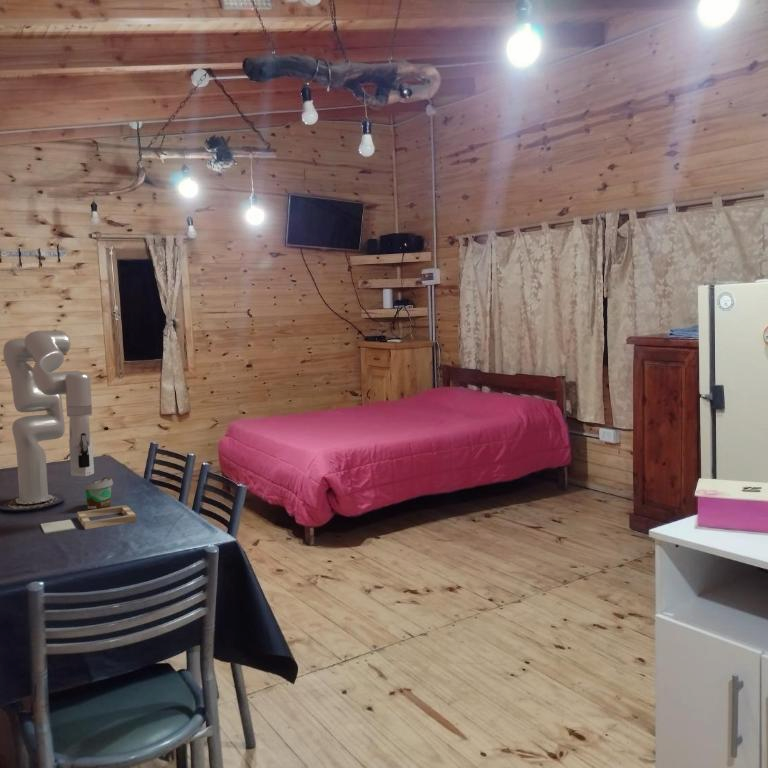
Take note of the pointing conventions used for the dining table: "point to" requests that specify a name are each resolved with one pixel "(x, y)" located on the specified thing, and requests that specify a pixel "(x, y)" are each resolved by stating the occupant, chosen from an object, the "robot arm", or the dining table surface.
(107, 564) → the dining table surface
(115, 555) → the dining table surface
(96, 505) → the food container
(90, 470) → the skincare box
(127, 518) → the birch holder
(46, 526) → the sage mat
